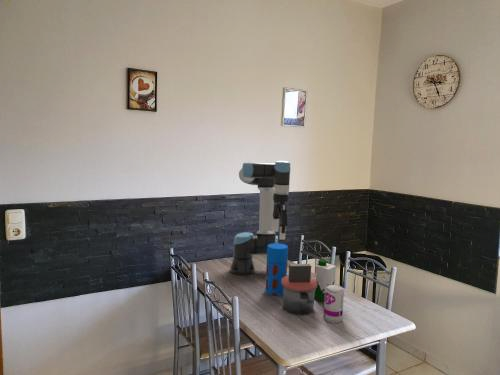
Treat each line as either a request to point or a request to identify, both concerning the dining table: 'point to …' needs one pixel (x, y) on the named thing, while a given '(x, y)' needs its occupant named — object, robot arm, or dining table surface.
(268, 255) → the thermos
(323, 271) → the milk carton
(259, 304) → the dining table surface
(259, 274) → the dining table surface
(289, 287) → the lid
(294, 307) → the pot
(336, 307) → the supplement can
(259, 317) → the dining table surface
